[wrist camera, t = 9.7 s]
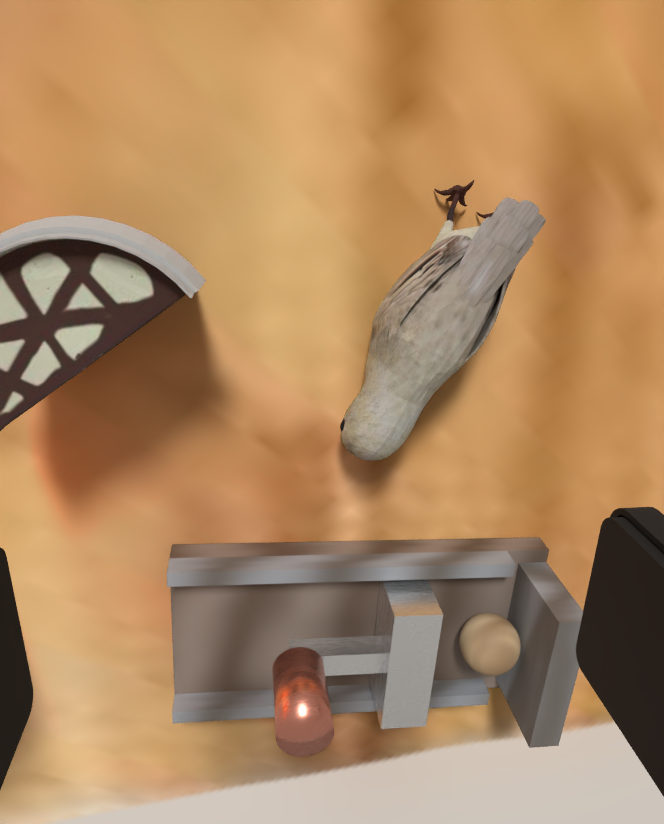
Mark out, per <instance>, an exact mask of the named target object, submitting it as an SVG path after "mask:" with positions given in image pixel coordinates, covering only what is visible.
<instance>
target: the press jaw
mask: <svg viewBox="0 0 664 824" xmlns="http://www.w3.org/2000/svg"><path fill="white" fill-rule="evenodd" d="M442 620H443V613H442V611H441V608H440V606H439V604H438V602H437V599H436V597H435V595H434V592H433V590H432V588H431V586H430V583H429V581H428V579H422V580H388V581H381V582H380V591H379V600H378V609H377V618H376V627H375V636H361V637H337V638H313V639H289V646H288V650H286V651H284V652H283V653H281V654H280V655H279V656H278V657H277V658H276V659H275V661H274V663H273V667H272V673H273V690H274V708H275V726H276V741H277V744H278V746H279V747H280V748H281V749H282V750H283V751H284V752H286V753H288V754H290V755H293V756H309V755H313V754H316V753H318V752H320V751H322V750H323V749H325V748H326V747H327V746H328V745H329V744H330V742H331V741H332V739H333V736H334V727H333V721H332V714H331V708H330V702H329V696H328V689H327V683H326V677H325V676H335V675H355V674H370V686H371V690H372V694H373V698H374V702H375V707H376V711H377V715H378V719H379V723H380V727H381V729H390V728H405V727H421V726H426V721H427V715H428V709H429V702H430V696H431V690H432V683H433V677H434V671H435V664H436V658H437V651H438V645H439V639H440V632H441V626H442Z"/></svg>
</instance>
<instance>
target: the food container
mask: <svg viewBox="0 0 664 824" xmlns="http://www.w3.org/2000/svg"><path fill="white" fill-rule="evenodd" d="M205 281H206V280H205V279H204V278H203V277H202V276H201V274H200V273H199V272H198V271H197V270H196V269H195V268H194V267H193V266H192V265H191V264H190V263H189V262H188V261H187V260H186V259H184V258H183V257H182V256H181V255H180V254H178V253H177V252H176V251H175V250H174V249H172V248H171V247H169V246H168V245H166V244H164V243H163V242H161V241H160V240H158V239H156V238H155V237H153V236H151V235H150V234H147V233H145V232H142V231H140V230H138V229H135V228H133V227H131V226H128V225H126V224H122V223H118V222H114V221H110V220H106V219H103V218H94V217H85V216H60V217H49V218H44V219H40V220H35V221H31V222H26V223H24V224H22V225H19V226H17V227H14V228H12V229H9V230H7V231H5V232H3V233H1V234H0V431H1V430H2V429H3V428H4V427H5V426H6V425H8V424H9V423H10V422H12V421H13V420H14V419H16V418H17V417H19V416H20V415H21V414H23V413H24V412H26V411H27V410H28V409H30V408H31V407H33V406H34V405H35V404H37V403H38V402H39V401H41V400H42V399H43V398H45V397H46V396H48V395H49V394H50V393H52V392H53V391H54V390H56V389H57V388H59V387H60V386H62V385H63V384H64V383H66V382H67V381H69V380H70V379H71V378H73V377H74V376H76V375H77V374H78V373H80V372H81V371H83V370H84V369H85V368H87V367H88V366H89V365H91V364H92V363H93V362H95V361H96V360H97V359H99V358H100V357H101V356H103V355H104V354H105V353H107V352H108V351H109V350H111V349H112V348H114V347H115V346H116V345H118V344H119V343H120V342H122V341H123V340H125V339H126V338H127V337H129V336H130V335H132V334H133V333H134V332H136V331H137V330H138V329H140V328H141V327H143V326H144V325H145V324H147V323H148V322H149V321H151V320H152V319H153V318H155V317H156V316H158V315H159V314H160V313H162V312H163V311H164V310H166V309H167V308H168V307H170V306H171V305H172V304H174V303H175V302H176V301H178V300H179V299H180V298H182V297H183V296H184V295H186V294H187V295H188V296H189V297H190V298H192V297H193V295H194V293H196V292H197V291H198V290H199V289H200V288H201V286H202V285H203V284H204V282H205Z"/></svg>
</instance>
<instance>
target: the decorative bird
mask: <svg viewBox="0 0 664 824" xmlns="http://www.w3.org/2000/svg"><path fill="white" fill-rule="evenodd" d="M473 183H474V180H473V181H472V182H471V183H469V184H468V185H467V186H465V187H462V186H459V185H456V186H453V187H452V188H450V189H449V190H444V191H438V190H436V189H435V191H436V192H437V193H439V194H441V195H451V196H450V197H449V198H448V199H446V200H447V201H452V204H451V206H450V209H449V212H448V215H447V221H446V222H445V223H444V224H443V226H442V228H441V230H440V232H439V234H438V236H437V238H436V239H435V241H434V243H433V245H432V246H431V248H430V249H429V251H428V252H427V253H425V254H424V255H423V256H422V257H420V258H419V259H418V260H417V261H416V262H414V263H413V264H412V265H411V266H410V267H409V268H408V269H407V270H406V271H405V272H404V273H403V274H402V276H401V277H400V278H399V279H398V280H397V281H396V283H395V284H394V285H393V287H392V288H391V289H390V291H389V292H388V294H387V295H386V296H385V298H384V300H383V301H382V303H381V305H380V306H379V308H378V310H377V313H376V315H375V318H374V321H373V327H372V335H371V342H370V346H369V354H368V358H367V362H366V368H365V382H364V384H363V386H362V389H361V391H360V392H359V394H358V395H357V397H356V398H355V400H354V401H353V402H352V404H351V405H350V406H349V408H348V410H347V411H346V414H345V416H344V418H343V421H342V423H341V425H340V428H341V440H342V443H343V445H344V447H345V448H346V449H347V450H348V451H349V452H350V453H351V454H353V455H354V456H356V457H358V458H360V459H363V460H381V459H385V458H387V457H388V456H390V455H392V454H393V453H394V452H395V451H397V450H398V449H399V448H400V446H401V445H402V444H403V443H404V442H405V440H406V439H407V438H408V436H409V434H410V433H411V431H412V429H413V427H414V425H415V423H416V421H417V419H418V417H419V415H420V413H421V412H422V410H423V408H424V406H425V405H426V404H427V402H428V401H429V399H430V398H431V397H432V395H433V394H434V393H435V392H436V391H437V390H438V389H439V388H440V387H441V386H442V385H443V384H444V383H445V382H446V381H447V380H448V379H449V378H450V377H451V376H452V375H453V374H454V373H456V372H457V371H458V370H459V369H460V368H461V367H462V366H463V365H464V364H465V363H466V362H467V361H468V360H469V359H470V358H471V357H472V356H473V355H474V354H475V353H476V352H477V350H478V349H479V348H480V346H481V345H482V344H483V342H484V340H485V339H486V337H487V335H488V334H489V332H490V330H491V328H492V326H493V324H494V322H495V321H496V318H497V315H498V313H499V310H500V307H501V304H502V301H503V298H504V295H505V292H506V289H507V287H508V284H509V282H510V280H511V278H512V275H513V273H514V271H515V268H516V266H517V264H518V263H519V261H520V260H521V259H522V258H523V256H524V255H525V254H526V252H527V251H528V250H529V248H530V247H531V246H532V244H533V238H534V237H535V236H536V235H537V233H538V232H539V231H540V229H541V228H542V226H543V225H544V223H545V218H544V217H543V216H542V215H540V214H538V212H539V208H538V206H536V205H535V204H534V203H533V202H530V201H528V200H523V201H521V202H520V203H519V202H517V201H516V200H514V199H511V198H504V199H503V200H502V201H501V202H500V204H499V205H498V206H497V208H496V210H495V211H494V212H493V213H491V214H485V215H482V214H479V213H477V212H476V213H477V214H478V215H479V216H481V217H483V218H485V220H484V221H483V222H482V224H481V225H480V226H477V227H470V228H465V229H460V230H453V215H454V210H455V207H456V204H457V202H458V200H459V202H460V204H461V205H463V206H467V205H465V201H464V196H465V194H466V191H468V190H469V189H470V188H471V186H472V185H473ZM452 230H453V231H452Z"/></svg>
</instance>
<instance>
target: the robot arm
mask: <svg viewBox="0 0 664 824" xmlns="http://www.w3.org/2000/svg"><path fill="white" fill-rule="evenodd" d="M576 657H577V661H578V664H579V667H580V669H581V671H582V672H583V674H584V675H585V677H586V678H587V680H588V681H589V683H590V685H591V686H592V688H593V689H594V691H595V692H596V694H597V695H598V697H599V698H600V700H601V701H602V703H603V704H604V706H605V707H606V709H607V710H608V712H609V714H610V715H611V717H612V718H613V720H614V721H615V723H616V724H617V726H618V727H619V729H620V730H621V732H622V733H623V735H624V736H625V738H626V739H627V741H628V743H629V744H630V746H631V747H632V749H633V750H634V752H635V753H636V755H637V756H638V758H639V759H640V761H641V762H642V764H643V765H644V767H645V769H646V770H647V772H648V773H649V775H650V776H651V778H652V779H653V781H654V782H655V784H656V785H657V787H658V788H659V790H660V791H661V793H662V795H663V796H664V515H663V514H662V513H661V512H660V511H658V510H657V509H655V508H653V507H638V508H618V509H616V510H614V512H613V513H612V514H611V516H610V518H606V519H605V520H604V521H603V523H602V525H601V529H600V534H599V539H598V544H597V548H596V553H595V558H594V563H593V567H592V572H591V577H590V582H589V586H588V591H587V596H586V601H585V605H584V610H583V615H582V620H581V624H580V629H579V634H578V639H577V643H576ZM32 702H33V686H32V681H31V676H30V671H29V666H28V661H27V656H26V651H25V646H24V641H23V636H22V631H21V626H20V621H19V616H18V611H17V606H16V602H15V597H14V592H13V587H12V582H11V577H10V572H9V567H8V562H7V557H6V554H5V551H4V550H3V549H2V548H0V789H1V787H2V784H3V782H4V779H5V776H6V774H7V771H8V769H9V766H10V764H11V761H12V759H13V756H14V754H15V751H16V748H17V746H18V743H19V741H20V738H21V736H22V733H23V731H24V728H25V726H26V723H27V720H28V718H29V715H30V712H31V708H32Z"/></svg>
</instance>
